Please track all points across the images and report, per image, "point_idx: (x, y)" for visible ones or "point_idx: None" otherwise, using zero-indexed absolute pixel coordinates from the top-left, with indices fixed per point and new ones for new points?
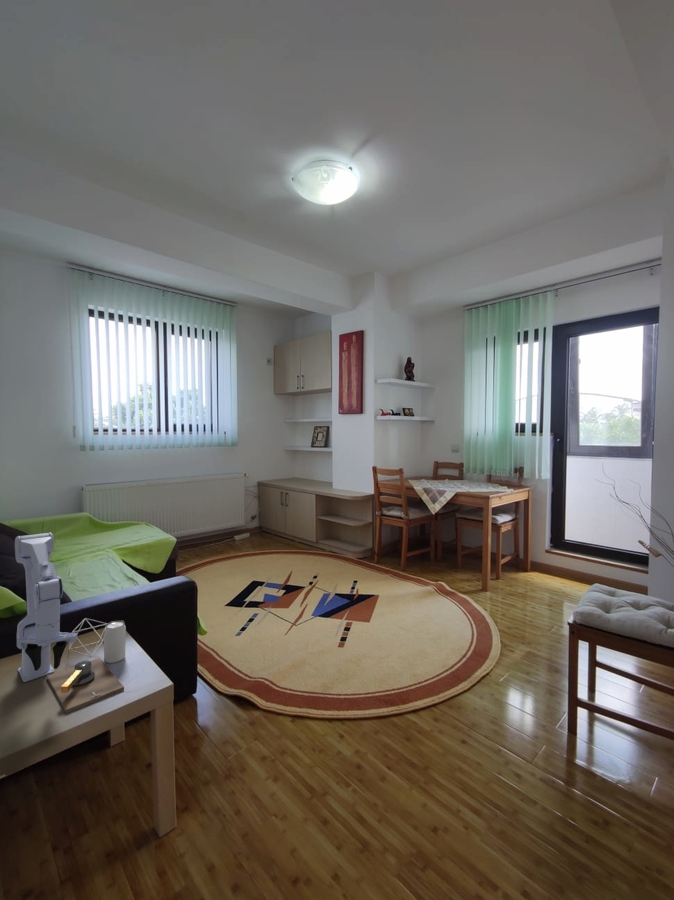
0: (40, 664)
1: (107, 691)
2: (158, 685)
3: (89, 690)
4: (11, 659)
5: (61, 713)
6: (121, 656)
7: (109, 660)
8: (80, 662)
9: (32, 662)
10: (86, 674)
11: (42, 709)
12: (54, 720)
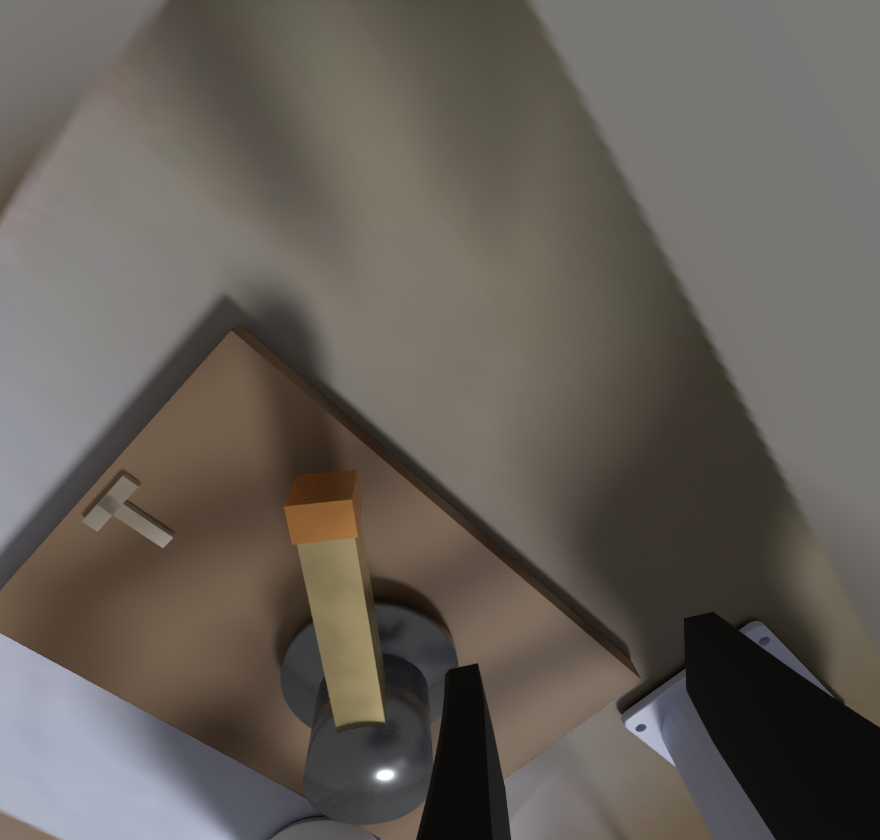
0: (703, 714)
1: (64, 561)
2: None
3: (220, 562)
4: None
5: (280, 324)
6: None
7: (317, 837)
8: (413, 802)
9: (849, 709)
10: (321, 698)
11: (463, 366)
12: (274, 235)
